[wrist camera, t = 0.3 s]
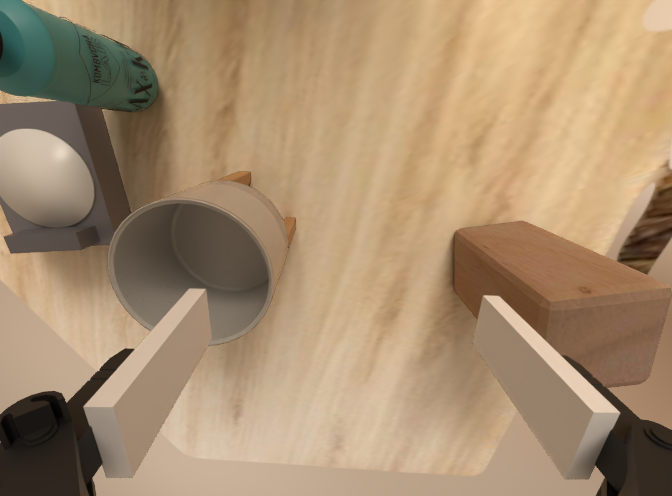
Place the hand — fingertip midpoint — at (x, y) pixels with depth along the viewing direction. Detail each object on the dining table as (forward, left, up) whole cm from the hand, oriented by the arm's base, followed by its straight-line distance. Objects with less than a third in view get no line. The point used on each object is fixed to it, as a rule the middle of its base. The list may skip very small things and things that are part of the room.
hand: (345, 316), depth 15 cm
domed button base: (-5, -33, -28) cm, 43 cm away
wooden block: (+9, +21, -28) cm, 36 cm away
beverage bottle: (-15, -22, -28) cm, 38 cm away
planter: (+2, -12, -28) cm, 30 cm away
